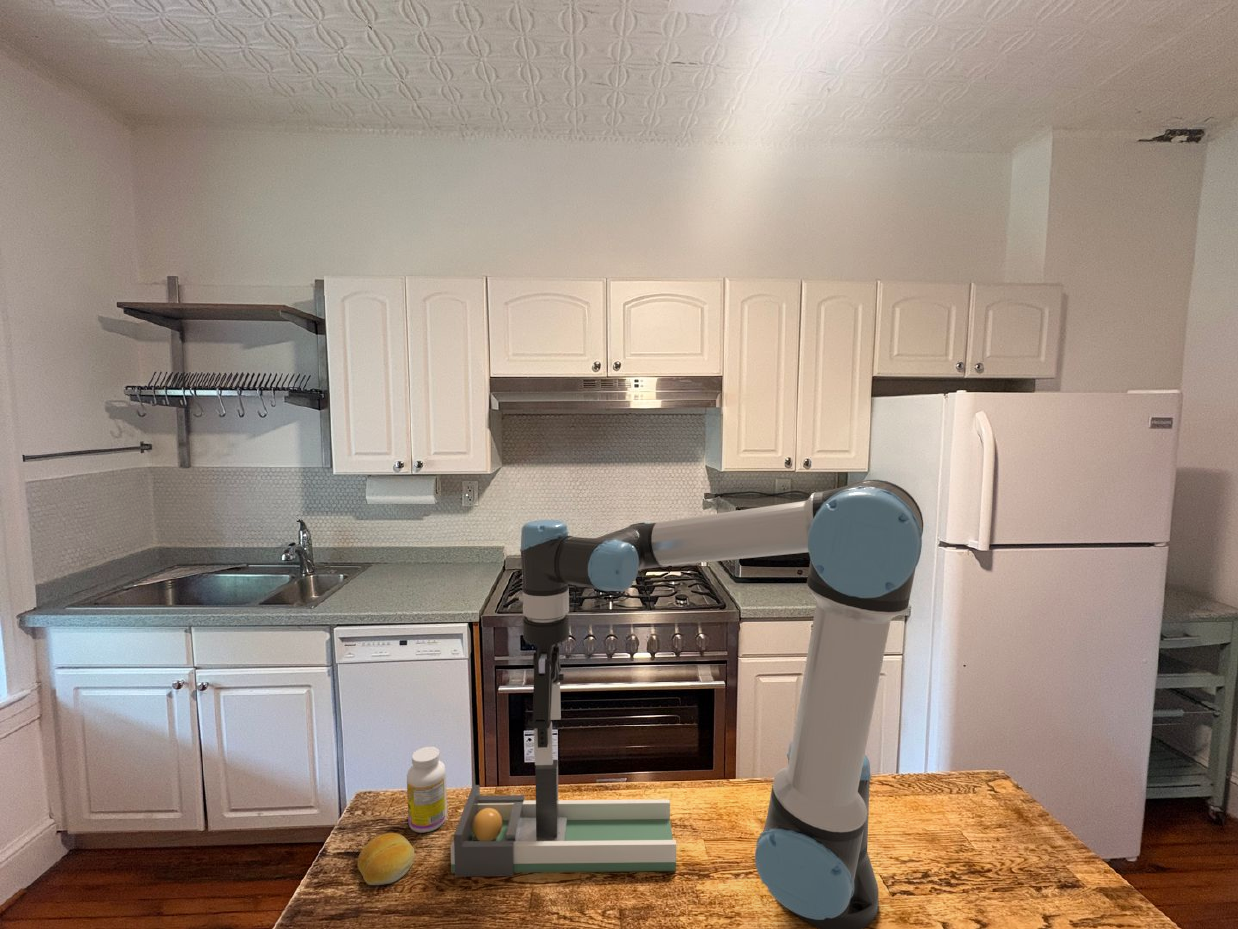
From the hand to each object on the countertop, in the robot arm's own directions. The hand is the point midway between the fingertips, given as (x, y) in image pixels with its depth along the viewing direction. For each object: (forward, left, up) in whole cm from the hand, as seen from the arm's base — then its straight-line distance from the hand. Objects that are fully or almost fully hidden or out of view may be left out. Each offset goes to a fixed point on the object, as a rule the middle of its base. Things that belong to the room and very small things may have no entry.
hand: (548, 739), depth 97 cm
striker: (+2, +1, -17) cm, 17 cm away
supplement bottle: (+23, +3, -19) cm, 31 cm away
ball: (+10, +4, -15) cm, 18 cm away
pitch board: (-3, -1, -19) cm, 19 cm away
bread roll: (+23, +13, -20) cm, 33 cm away
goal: (+9, +3, -19) cm, 21 cm away
